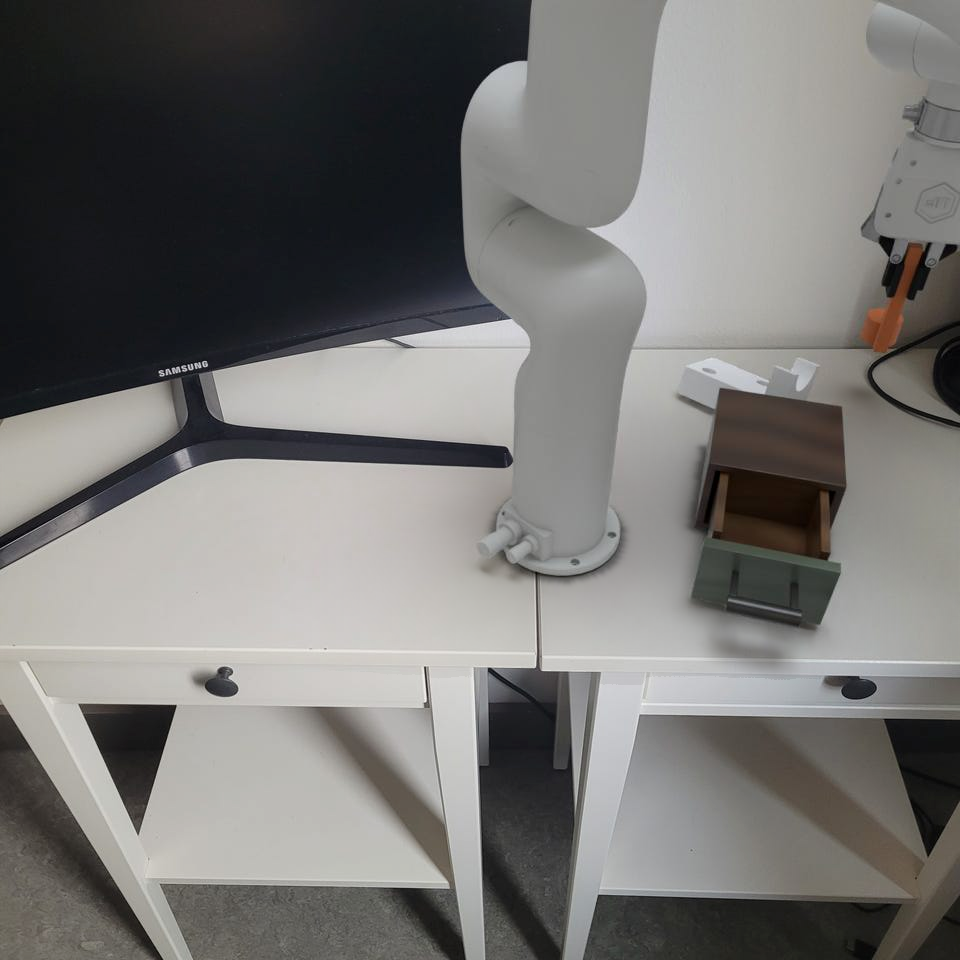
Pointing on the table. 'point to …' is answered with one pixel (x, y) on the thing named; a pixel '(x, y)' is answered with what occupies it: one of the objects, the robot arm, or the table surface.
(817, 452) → the cabinet
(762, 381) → the bracket
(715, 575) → the drawer
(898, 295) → the scoop
